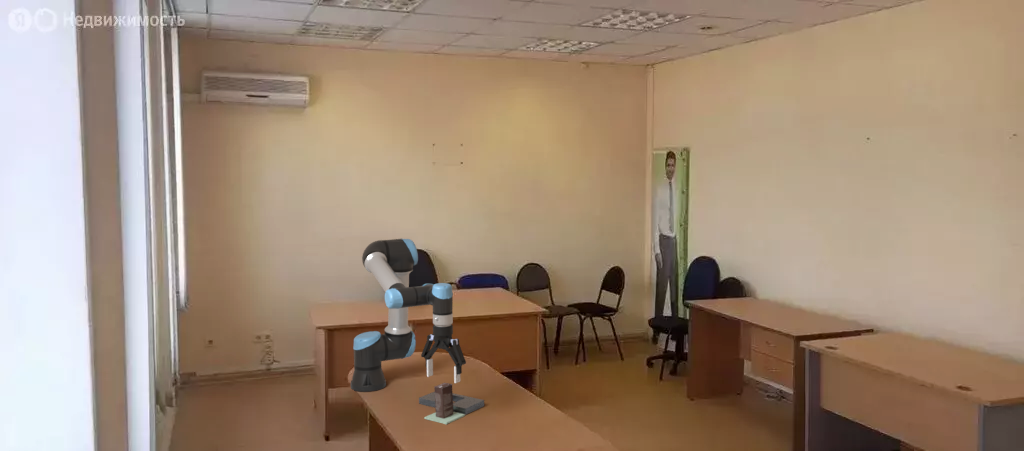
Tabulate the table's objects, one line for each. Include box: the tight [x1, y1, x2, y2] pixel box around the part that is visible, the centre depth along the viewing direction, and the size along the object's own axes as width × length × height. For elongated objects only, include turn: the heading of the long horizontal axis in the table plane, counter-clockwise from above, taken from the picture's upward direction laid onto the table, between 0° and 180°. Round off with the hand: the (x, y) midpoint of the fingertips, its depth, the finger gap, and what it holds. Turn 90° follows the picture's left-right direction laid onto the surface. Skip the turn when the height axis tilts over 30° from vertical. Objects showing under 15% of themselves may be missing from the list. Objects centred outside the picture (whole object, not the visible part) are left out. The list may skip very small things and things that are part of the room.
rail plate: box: [418, 391, 485, 416], centre depth 300 cm, size 24×12×2 cm, turn 55°
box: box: [433, 382, 454, 418], centre depth 286 cm, size 6×4×12 cm
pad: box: [423, 411, 466, 425], centre depth 286 cm, size 11×11×1 cm
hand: (443, 379), depth 285 cm, fingers open, 13 cm apart
